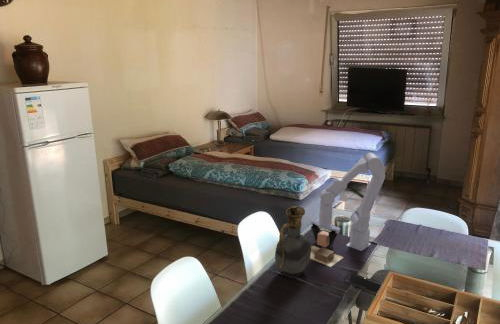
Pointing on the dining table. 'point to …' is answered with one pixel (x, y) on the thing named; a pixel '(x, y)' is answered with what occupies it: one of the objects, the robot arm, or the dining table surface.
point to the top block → (323, 239)
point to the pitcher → (293, 245)
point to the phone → (364, 283)
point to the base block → (324, 255)
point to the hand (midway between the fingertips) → (323, 242)
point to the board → (330, 263)
